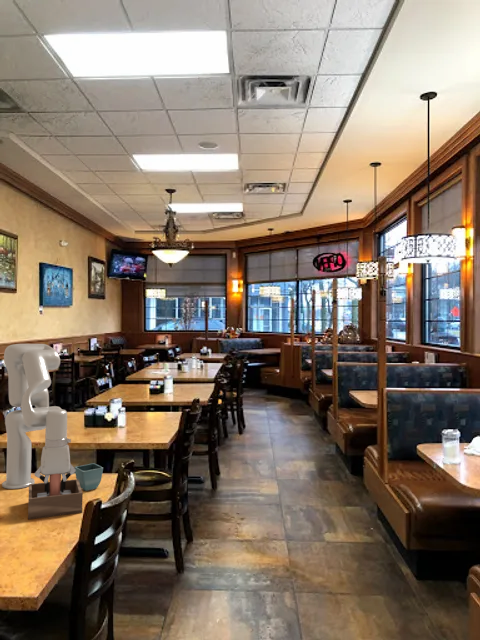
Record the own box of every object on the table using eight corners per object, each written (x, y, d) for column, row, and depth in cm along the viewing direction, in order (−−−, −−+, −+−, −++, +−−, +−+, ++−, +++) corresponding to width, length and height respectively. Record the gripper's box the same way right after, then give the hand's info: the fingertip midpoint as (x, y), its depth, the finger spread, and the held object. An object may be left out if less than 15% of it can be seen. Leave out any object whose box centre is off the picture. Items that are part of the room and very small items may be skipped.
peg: (48, 503, 183) (49, 471, 183) (60, 502, 185) (60, 470, 185) (49, 507, 179) (49, 474, 180) (60, 506, 181) (61, 473, 181)
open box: (28, 502, 187) (28, 484, 187) (77, 496, 194) (78, 479, 194) (28, 519, 170) (28, 499, 170) (82, 512, 177) (82, 493, 177)
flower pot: (82, 493, 198) (83, 471, 198) (73, 488, 204) (74, 466, 205) (103, 489, 204) (103, 467, 204) (93, 484, 210) (94, 463, 210)
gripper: (78, 439, 189) (77, 486, 189) (31, 442, 183) (30, 491, 182) (80, 443, 182) (79, 492, 182) (31, 447, 176) (30, 498, 175)
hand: (54, 491), depth 182 cm, fingers open, 4 cm apart
